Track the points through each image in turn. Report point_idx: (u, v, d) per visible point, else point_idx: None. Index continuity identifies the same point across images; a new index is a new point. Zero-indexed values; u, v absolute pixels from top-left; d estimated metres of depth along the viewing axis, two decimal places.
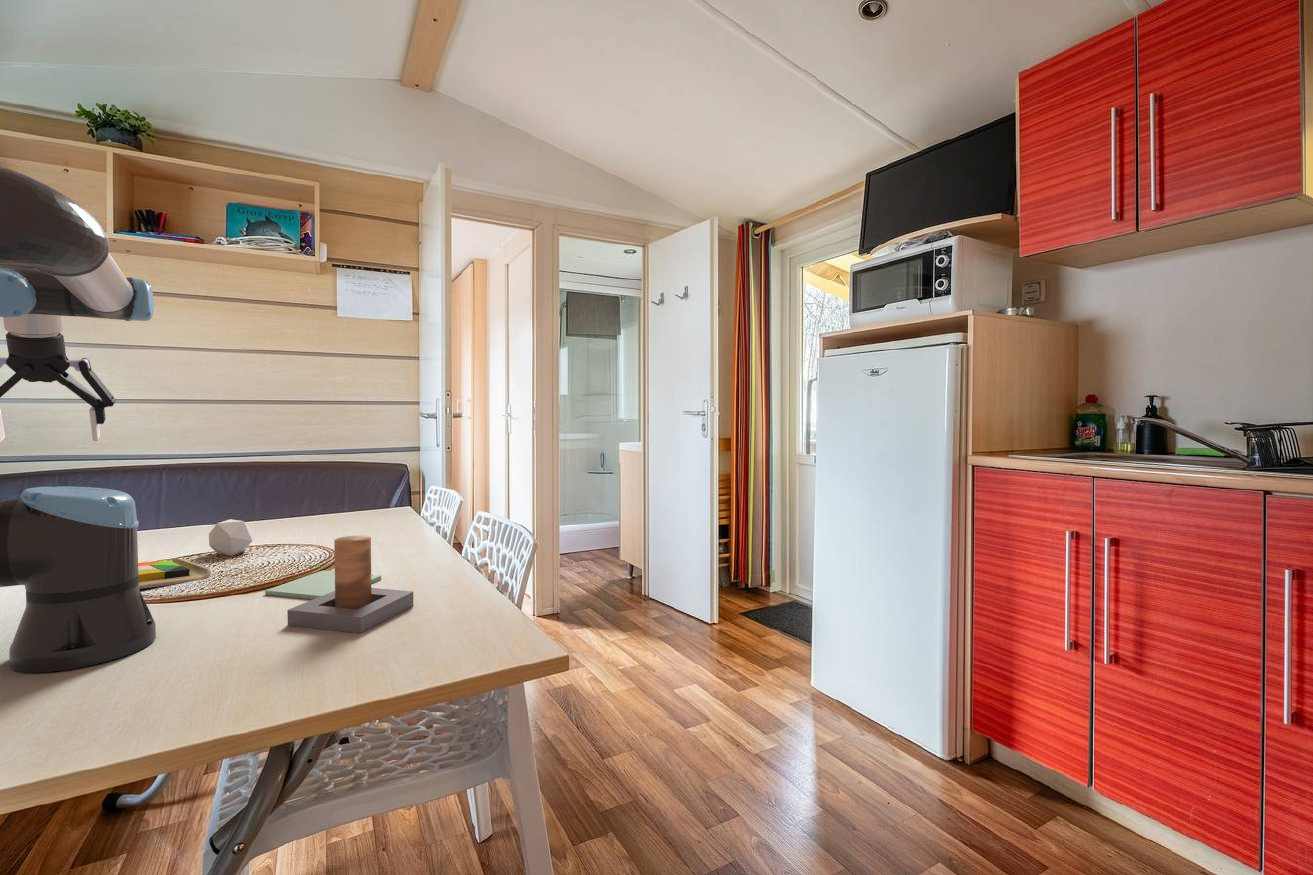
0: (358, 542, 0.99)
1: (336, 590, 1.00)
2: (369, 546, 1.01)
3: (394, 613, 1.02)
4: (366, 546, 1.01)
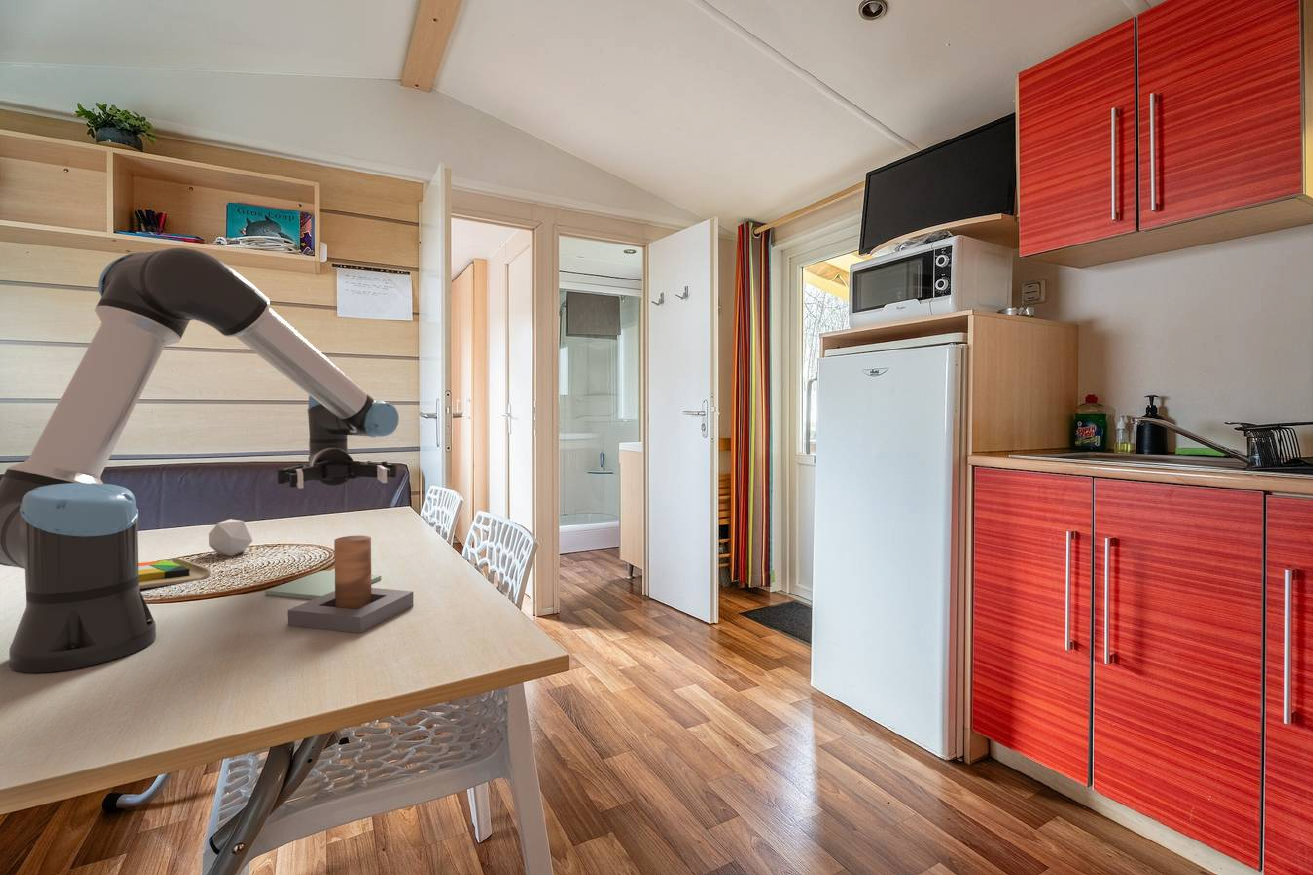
0: (358, 542, 0.99)
1: (336, 590, 1.00)
2: (369, 546, 1.01)
3: (394, 613, 1.02)
4: (366, 546, 1.01)
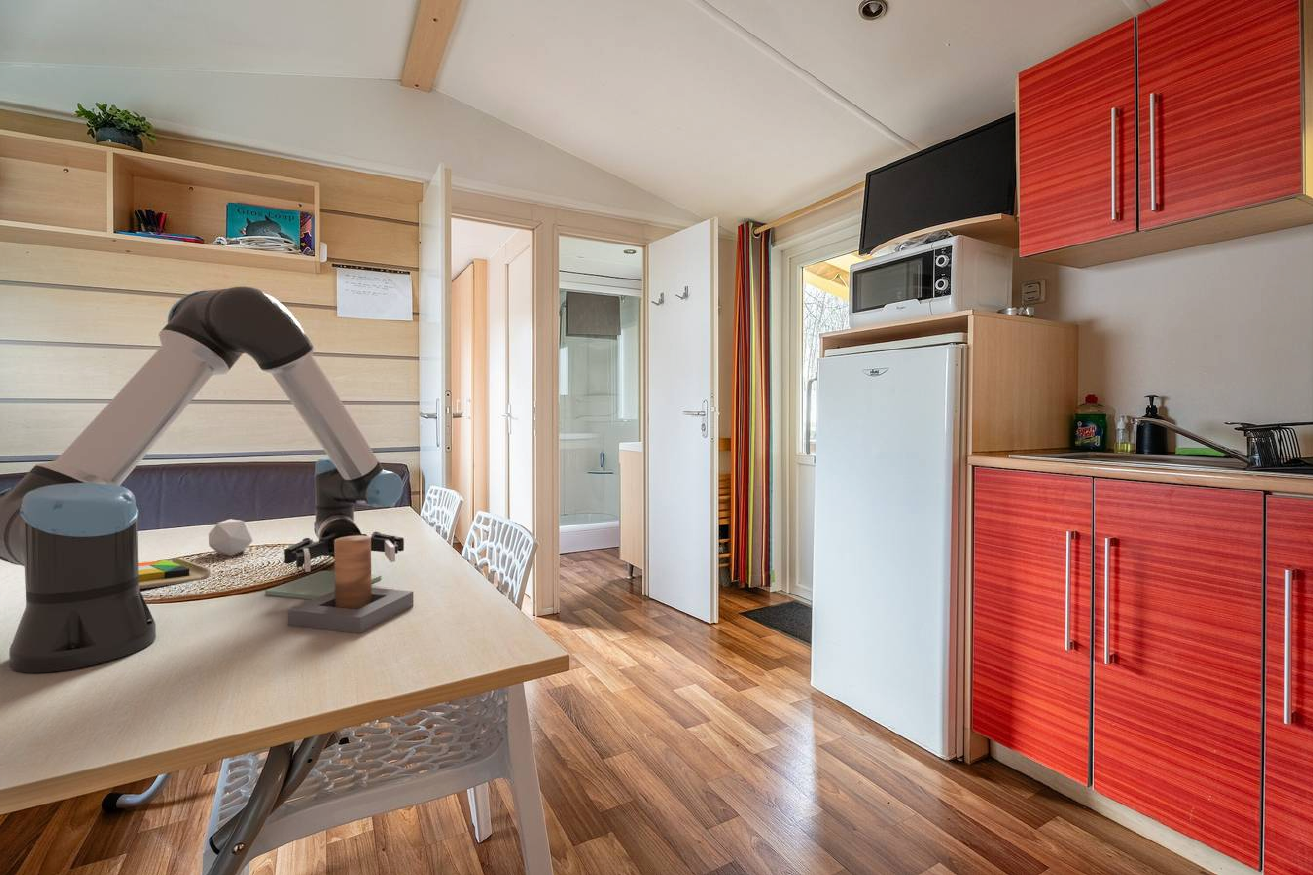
0: (358, 542, 0.99)
1: (336, 590, 1.00)
2: (369, 546, 1.01)
3: (394, 613, 1.02)
4: (366, 546, 1.01)
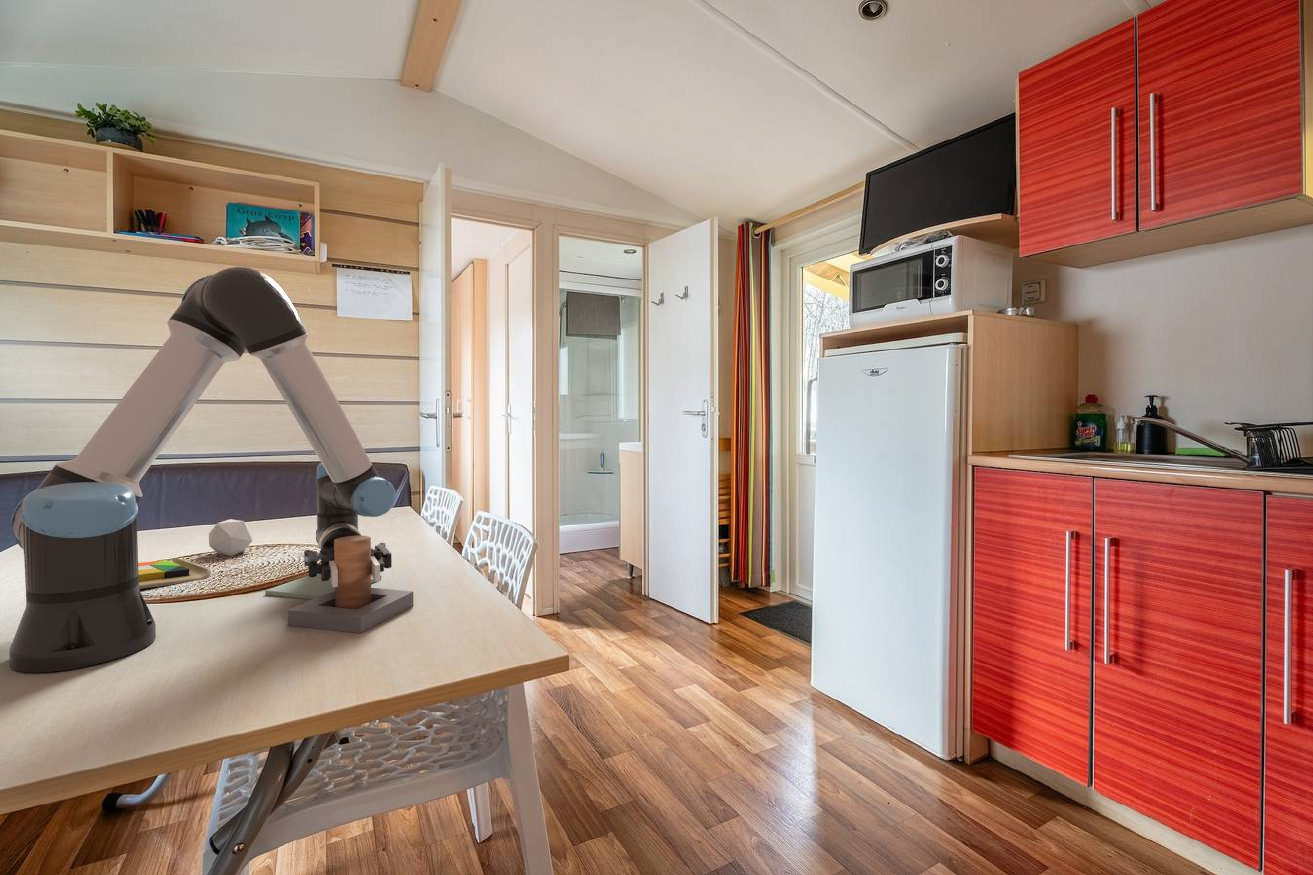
0: (358, 542, 0.99)
1: (336, 590, 1.00)
2: (369, 546, 1.01)
3: (394, 613, 1.02)
4: (366, 546, 1.01)
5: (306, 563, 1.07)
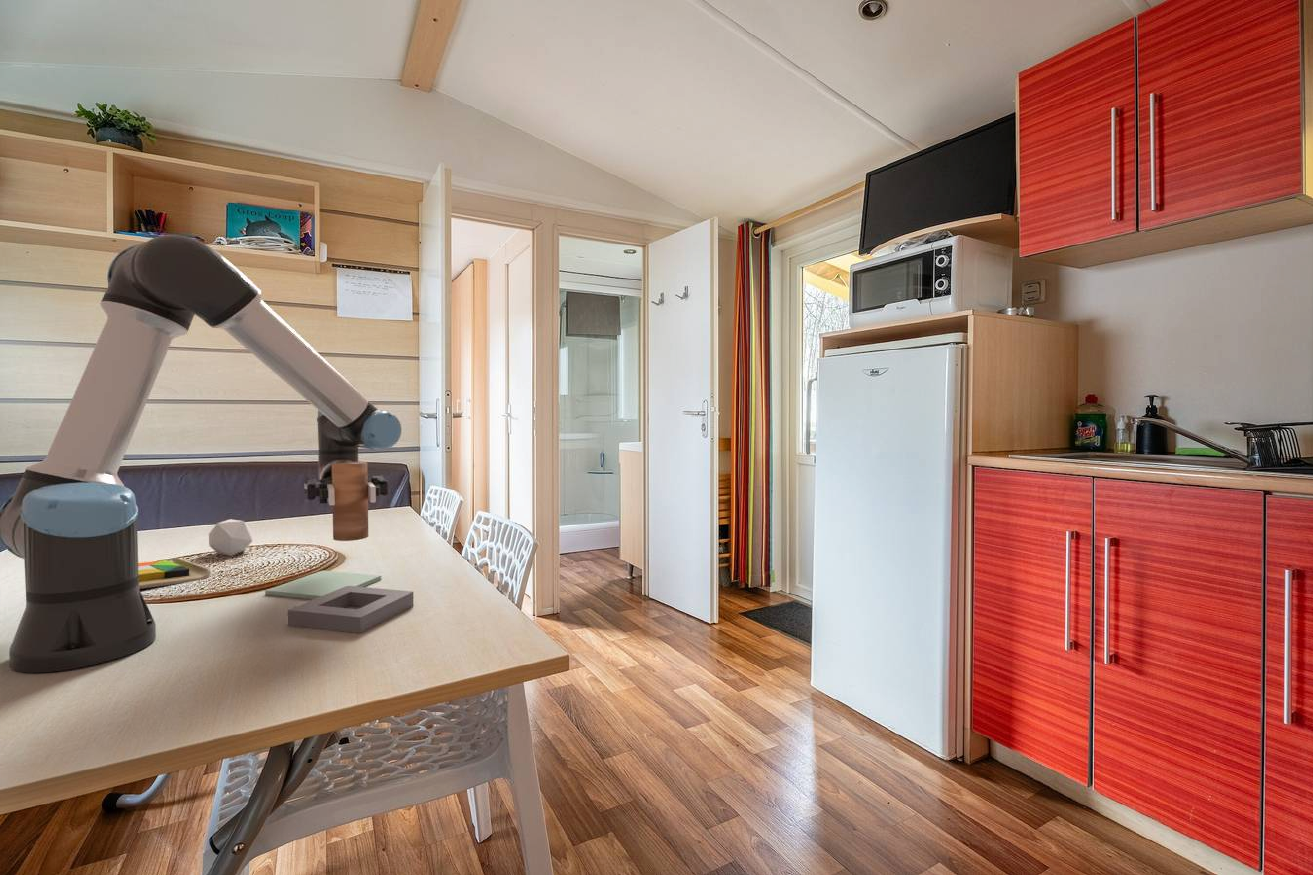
0: (354, 465, 1.02)
1: (333, 511, 1.03)
2: (365, 470, 1.04)
3: (394, 613, 1.02)
4: (363, 469, 1.04)
5: (306, 490, 1.10)
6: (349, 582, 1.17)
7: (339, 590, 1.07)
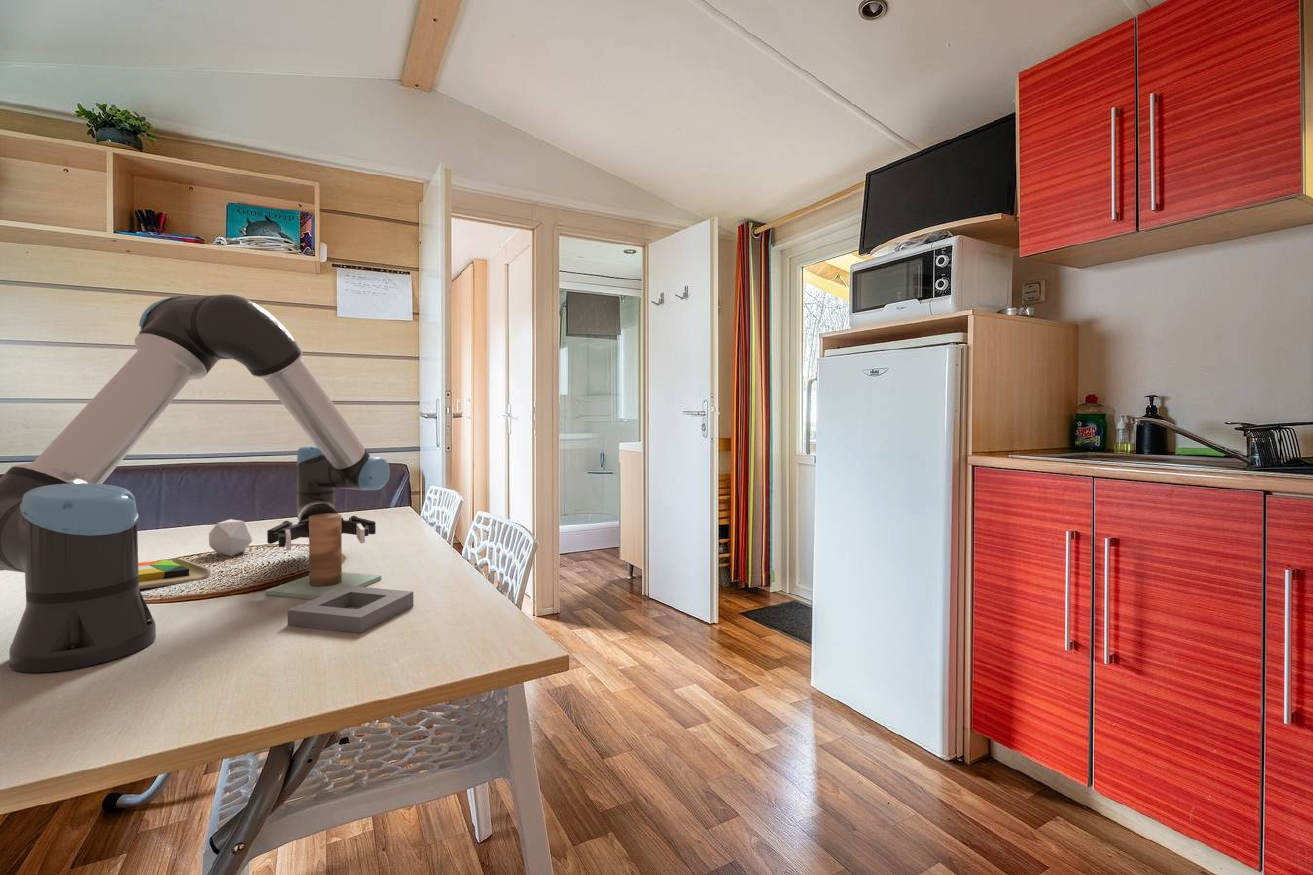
0: (329, 519, 1.14)
1: (310, 560, 1.15)
2: (339, 523, 1.16)
3: (394, 613, 1.02)
4: (337, 522, 1.15)
5: None
6: (349, 582, 1.17)
7: (339, 590, 1.07)
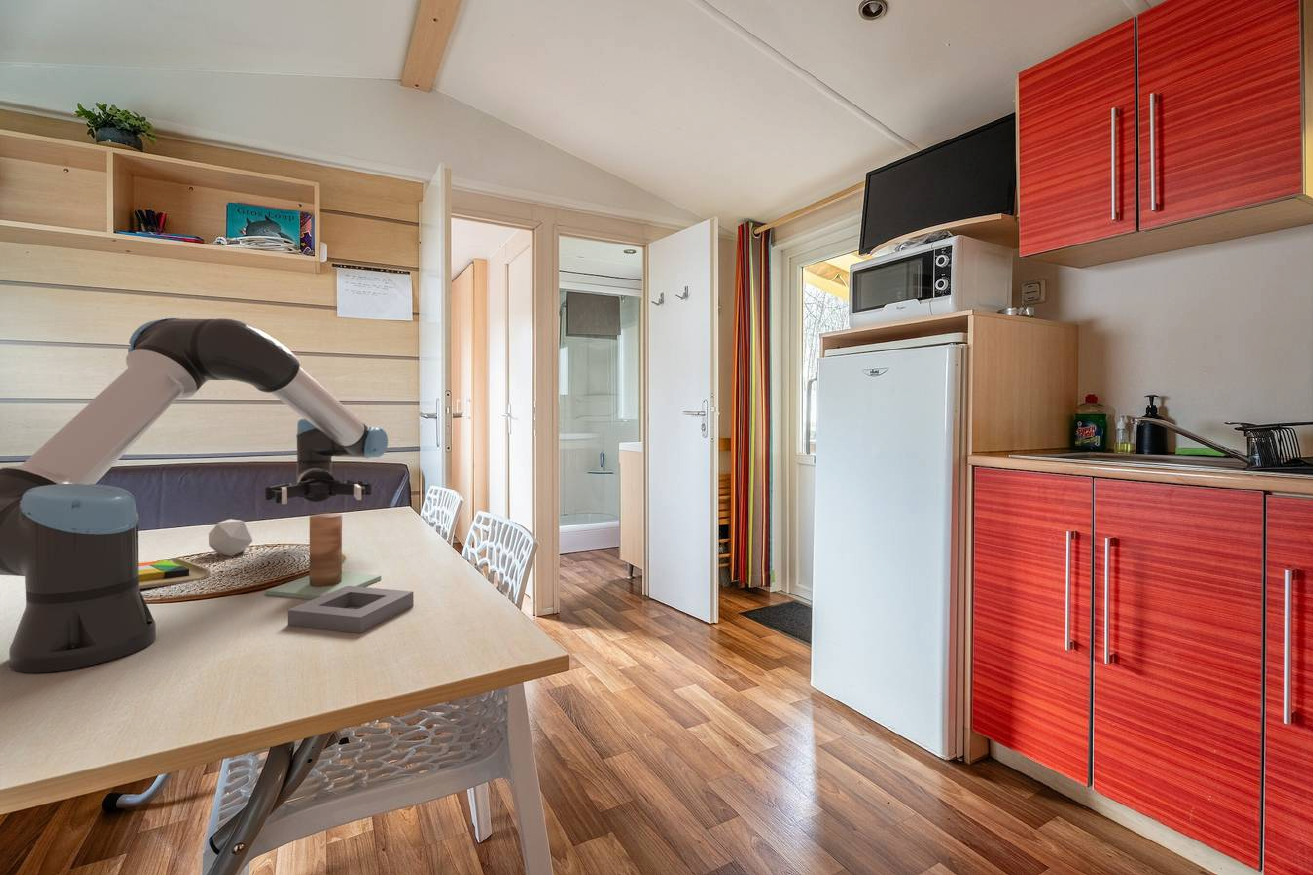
0: (330, 518, 1.15)
1: (310, 560, 1.15)
2: (340, 522, 1.17)
3: (394, 613, 1.02)
4: (338, 522, 1.16)
5: None
6: (349, 582, 1.17)
7: (339, 590, 1.07)
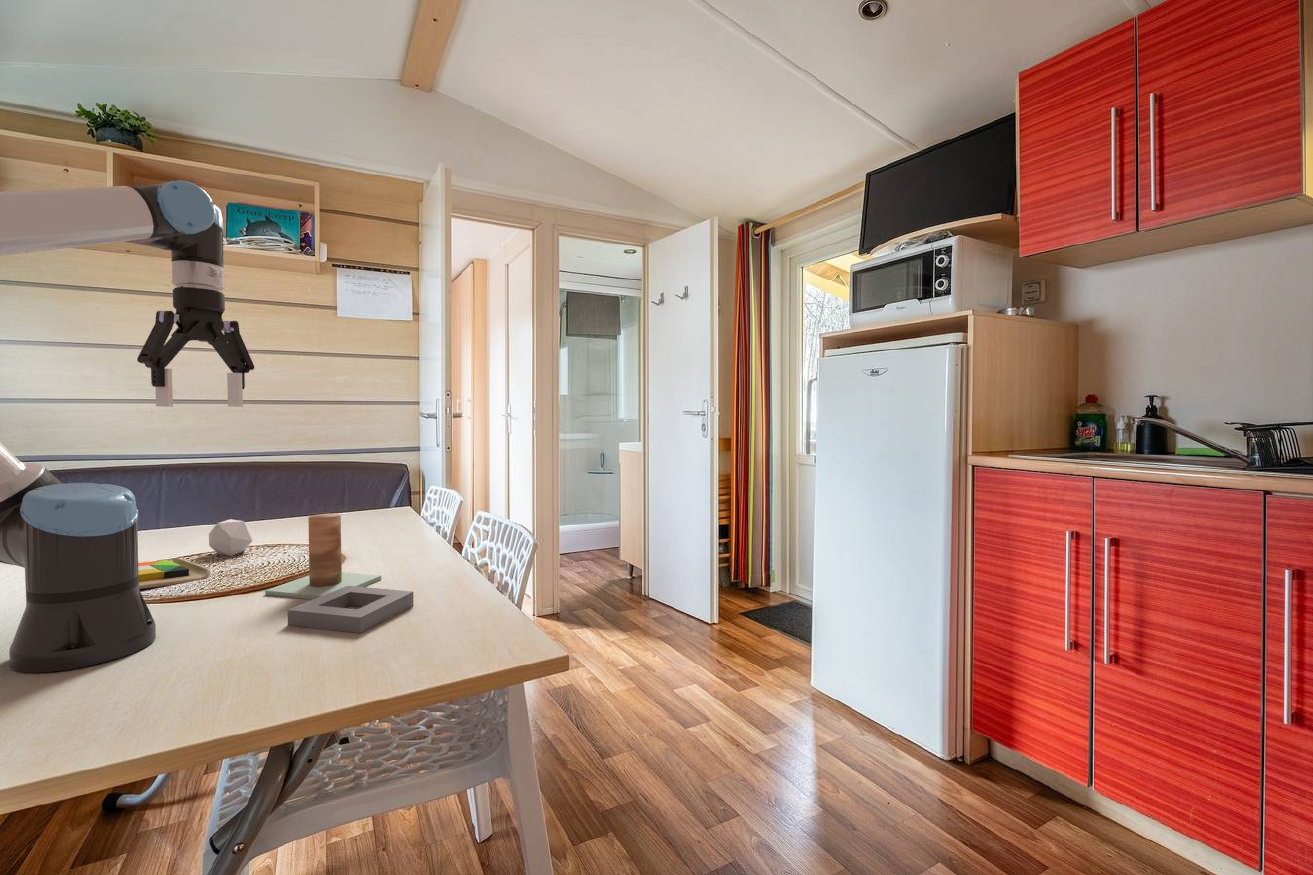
0: (329, 518, 1.15)
1: (310, 560, 1.15)
2: (339, 522, 1.17)
3: (394, 613, 1.02)
4: (337, 521, 1.16)
5: None
6: (349, 582, 1.17)
7: (339, 590, 1.07)
